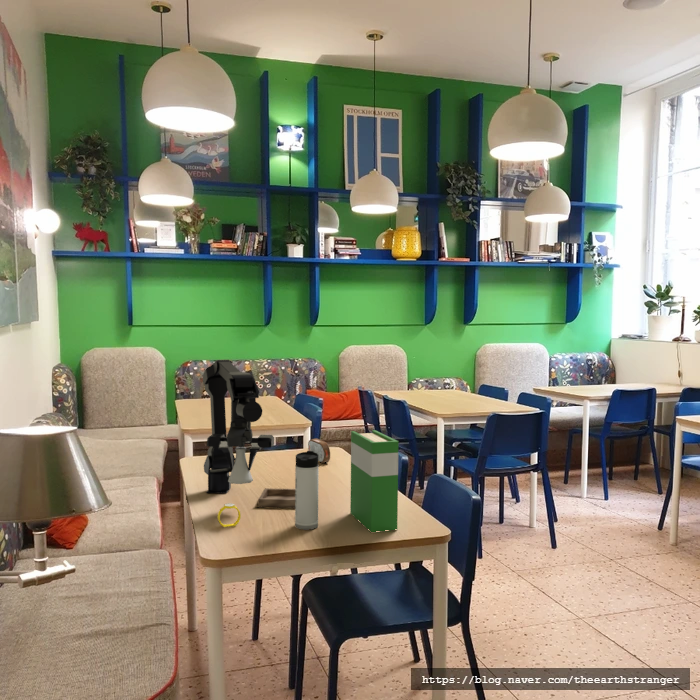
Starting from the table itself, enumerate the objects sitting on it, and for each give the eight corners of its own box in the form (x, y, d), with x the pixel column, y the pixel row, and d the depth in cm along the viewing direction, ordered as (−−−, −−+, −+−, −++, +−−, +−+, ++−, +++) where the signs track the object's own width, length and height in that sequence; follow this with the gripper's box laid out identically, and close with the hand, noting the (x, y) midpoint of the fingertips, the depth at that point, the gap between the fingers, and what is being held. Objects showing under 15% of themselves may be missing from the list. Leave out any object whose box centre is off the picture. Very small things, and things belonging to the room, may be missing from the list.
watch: (238, 524, 171) (240, 502, 171) (240, 527, 169) (242, 505, 169) (216, 525, 169) (218, 503, 169) (218, 528, 167) (219, 506, 166)
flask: (253, 484, 180) (253, 450, 179) (227, 485, 179) (227, 450, 178) (252, 478, 187) (252, 445, 186) (228, 479, 186) (228, 445, 185)
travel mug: (321, 523, 172) (321, 451, 171) (314, 530, 166) (315, 456, 165) (299, 521, 173) (299, 450, 172) (291, 529, 167) (292, 454, 166)
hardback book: (350, 513, 181) (351, 431, 180) (374, 511, 184) (375, 430, 182) (371, 533, 164) (372, 442, 163) (397, 530, 167) (398, 441, 166)
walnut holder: (258, 507, 186) (258, 499, 186) (265, 496, 198) (265, 488, 198) (298, 508, 186) (298, 499, 185) (302, 496, 198) (302, 488, 197)
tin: (330, 464, 243) (331, 443, 242) (323, 465, 241) (323, 443, 241) (313, 457, 256) (313, 436, 255) (306, 457, 254) (306, 437, 254)
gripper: (201, 420, 174) (201, 476, 175) (268, 422, 174) (268, 477, 174) (211, 414, 185) (211, 466, 186) (274, 415, 185) (274, 468, 186)
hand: (240, 469), depth 183 cm, fingers closed on flask, 5 cm apart
